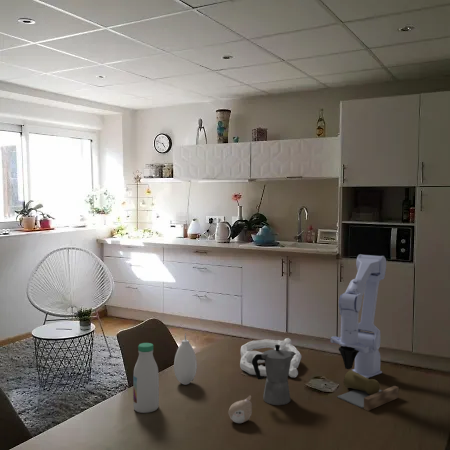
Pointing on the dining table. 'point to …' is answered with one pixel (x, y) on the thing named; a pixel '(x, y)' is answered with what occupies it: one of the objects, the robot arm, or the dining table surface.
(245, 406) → the garlic bulb
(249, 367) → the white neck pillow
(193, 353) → the sauce bottle
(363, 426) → the dining table surface
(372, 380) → the cork
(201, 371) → the dining table surface
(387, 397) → the stop rail
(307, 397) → the dining table surface
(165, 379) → the dining table surface
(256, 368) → the coffeepot
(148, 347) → the milk bottle
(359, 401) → the mat
